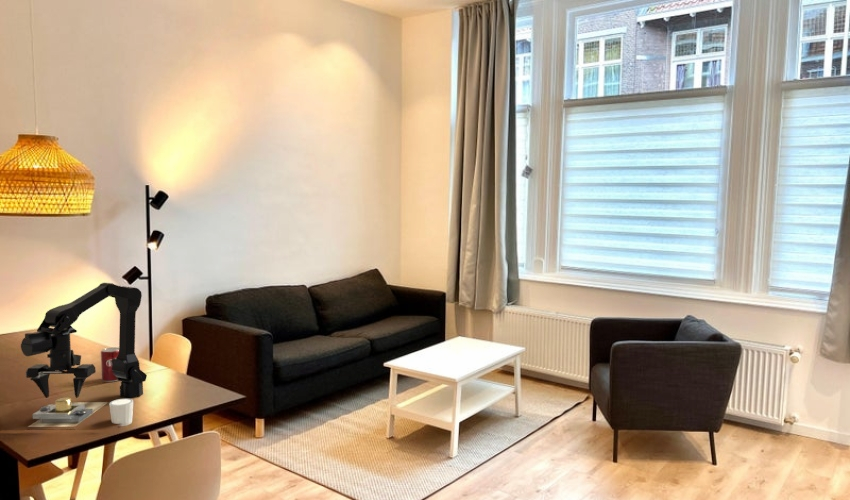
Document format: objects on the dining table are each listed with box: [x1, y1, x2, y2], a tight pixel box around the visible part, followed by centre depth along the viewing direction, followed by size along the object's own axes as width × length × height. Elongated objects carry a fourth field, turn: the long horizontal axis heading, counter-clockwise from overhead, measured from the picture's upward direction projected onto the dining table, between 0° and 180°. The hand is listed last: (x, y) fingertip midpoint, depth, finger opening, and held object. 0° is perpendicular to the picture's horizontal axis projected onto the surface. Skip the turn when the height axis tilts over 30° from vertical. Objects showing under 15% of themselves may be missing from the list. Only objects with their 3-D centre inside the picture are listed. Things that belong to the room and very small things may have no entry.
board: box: [27, 401, 109, 431], centre depth 198 cm, size 14×22×1 cm, turn 2°
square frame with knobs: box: [32, 403, 94, 424], centre depth 194 cm, size 14×9×4 cm, turn 92°
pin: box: [54, 397, 72, 413], centre depth 194 cm, size 4×4×6 cm
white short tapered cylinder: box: [108, 398, 134, 427], centre depth 193 cm, size 7×7×7 cm
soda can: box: [100, 346, 119, 383], centre depth 237 cm, size 7×7×12 cm
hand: (62, 397), depth 194 cm, fingers open, 9 cm apart
